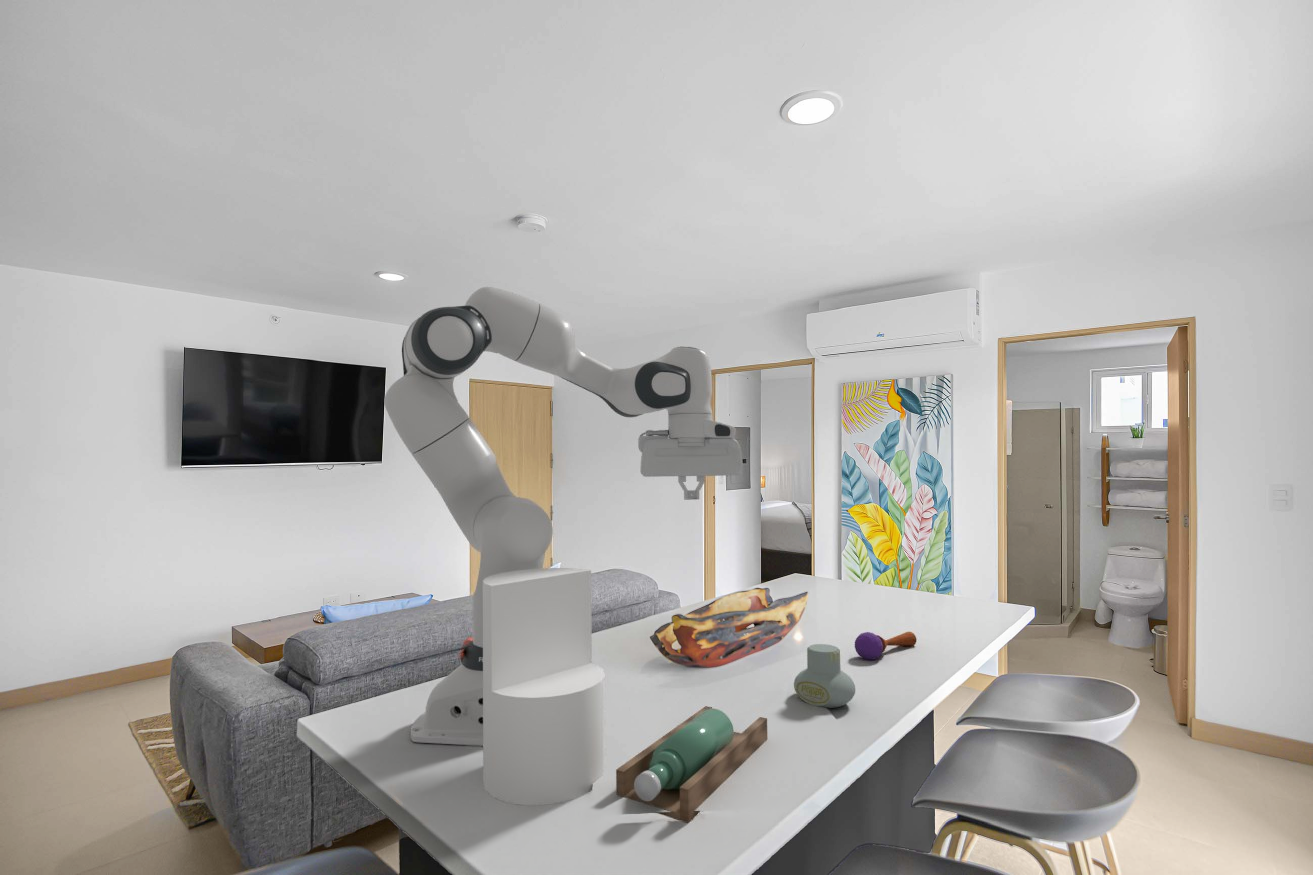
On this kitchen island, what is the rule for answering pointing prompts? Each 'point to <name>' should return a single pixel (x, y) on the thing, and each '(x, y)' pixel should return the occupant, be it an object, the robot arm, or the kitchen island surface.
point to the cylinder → (541, 687)
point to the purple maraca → (880, 644)
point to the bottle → (685, 753)
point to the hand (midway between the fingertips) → (691, 499)
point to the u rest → (701, 782)
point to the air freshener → (824, 678)
